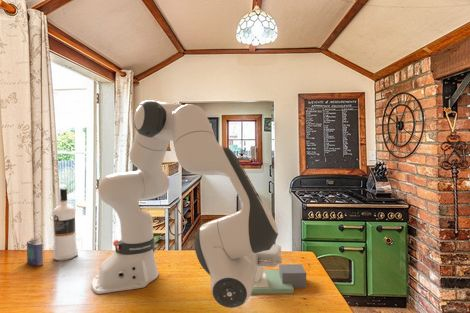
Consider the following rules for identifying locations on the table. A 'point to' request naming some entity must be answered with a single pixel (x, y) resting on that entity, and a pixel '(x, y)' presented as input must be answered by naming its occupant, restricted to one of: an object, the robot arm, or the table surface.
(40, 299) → the table surface
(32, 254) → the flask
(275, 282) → the green board with pad
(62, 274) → the table surface
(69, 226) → the vodka
